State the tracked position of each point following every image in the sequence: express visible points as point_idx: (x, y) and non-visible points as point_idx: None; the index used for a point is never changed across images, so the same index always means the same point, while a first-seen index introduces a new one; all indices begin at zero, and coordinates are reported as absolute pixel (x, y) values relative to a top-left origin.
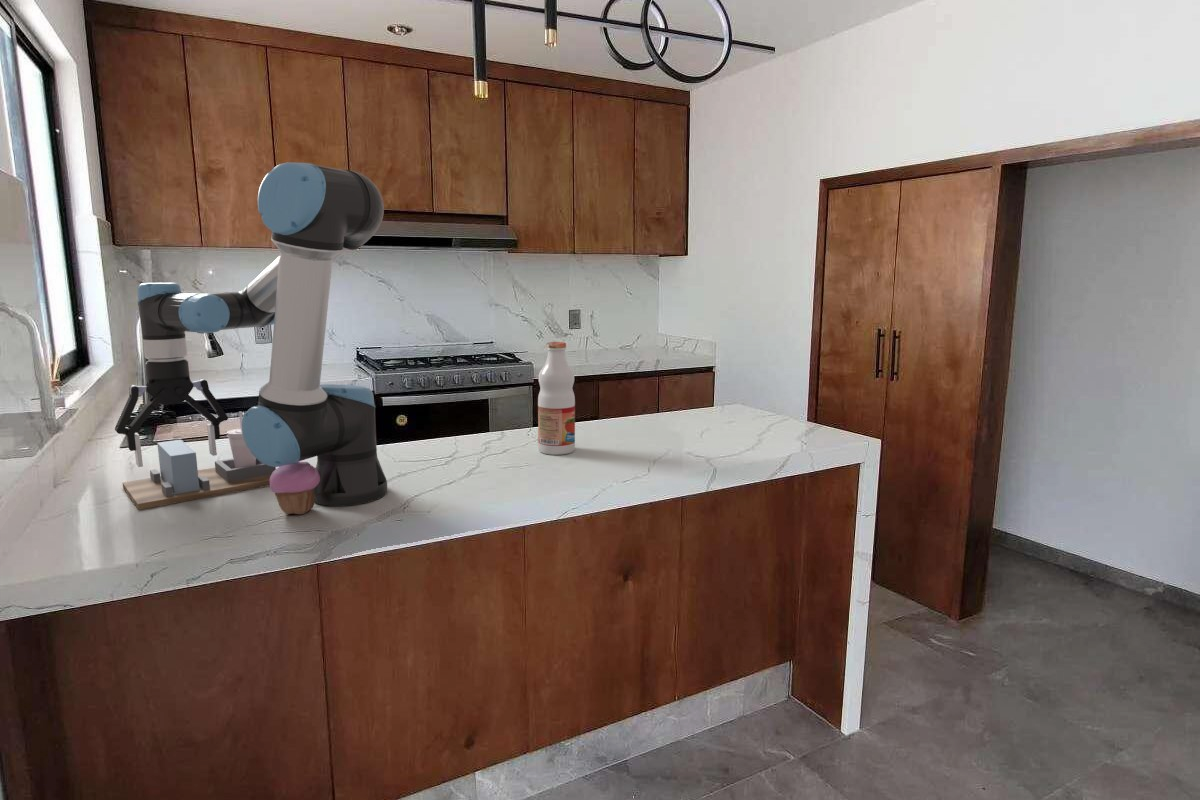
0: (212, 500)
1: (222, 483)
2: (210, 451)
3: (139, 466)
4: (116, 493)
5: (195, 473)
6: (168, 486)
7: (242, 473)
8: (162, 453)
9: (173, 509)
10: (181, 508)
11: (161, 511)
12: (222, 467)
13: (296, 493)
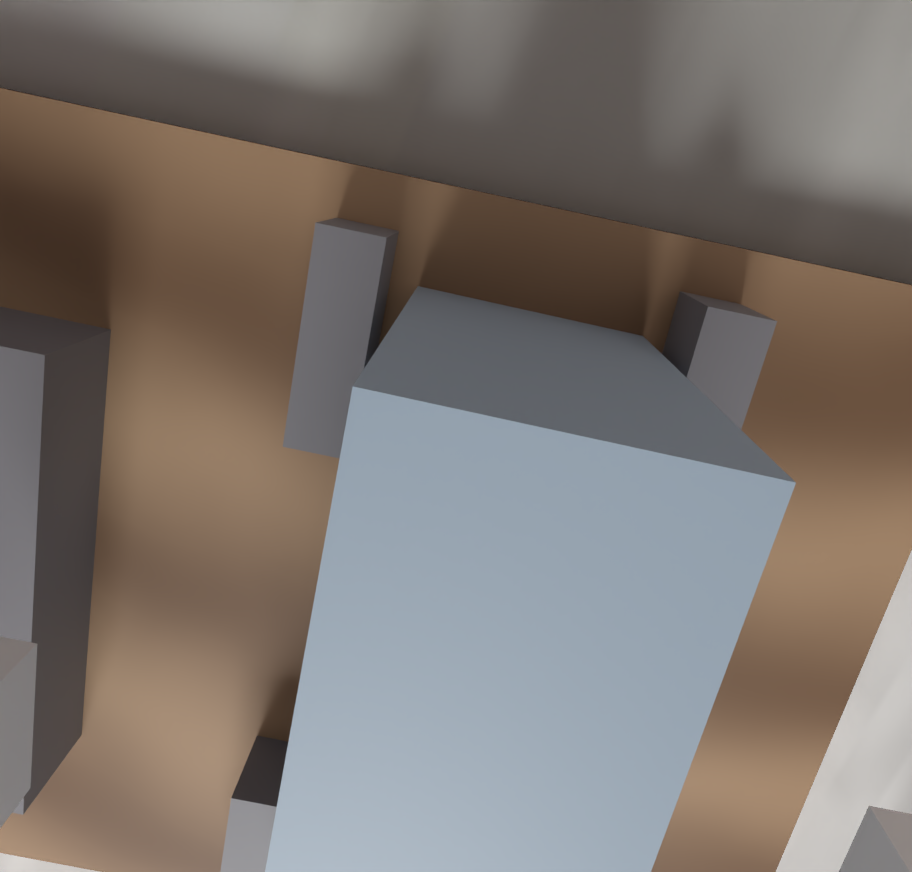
0: (408, 17)
1: (164, 332)
2: (12, 768)
3: (909, 819)
4: (810, 862)
5: (427, 321)
6: (731, 341)
7: None
8: None
9: (791, 37)
10: (729, 2)
11: (890, 70)
12: (34, 535)
13: None
